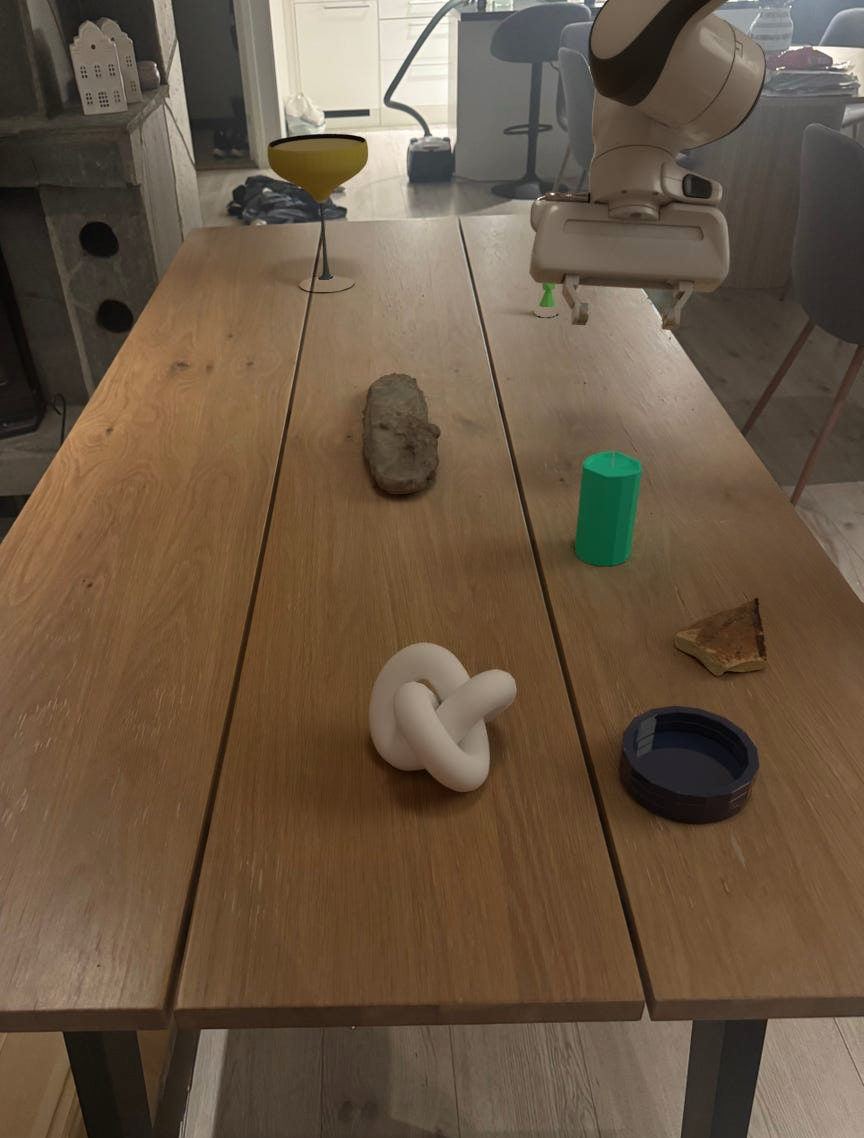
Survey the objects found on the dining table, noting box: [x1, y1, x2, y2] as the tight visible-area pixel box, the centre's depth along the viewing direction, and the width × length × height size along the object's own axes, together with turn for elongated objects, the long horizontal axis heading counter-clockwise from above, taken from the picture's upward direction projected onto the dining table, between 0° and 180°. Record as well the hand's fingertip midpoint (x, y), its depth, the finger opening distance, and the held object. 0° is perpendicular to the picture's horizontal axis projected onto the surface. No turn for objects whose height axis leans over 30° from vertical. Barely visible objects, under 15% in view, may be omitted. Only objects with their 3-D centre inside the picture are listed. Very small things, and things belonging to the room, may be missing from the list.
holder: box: [618, 705, 760, 825], centre depth 76 cm, size 10×10×3 cm
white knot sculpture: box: [368, 642, 518, 793], centre depth 77 cm, size 11×12×9 cm
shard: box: [674, 597, 769, 676], centre depth 89 cm, size 11×8×2 cm
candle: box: [574, 449, 643, 567], centre depth 101 cm, size 6×6×12 cm
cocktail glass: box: [267, 133, 369, 280], centre depth 179 cm, size 18×18×25 cm
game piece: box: [538, 283, 556, 307], centre depth 166 cm, size 4×4×6 cm
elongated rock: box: [361, 372, 442, 495], centre depth 127 cm, size 35×5×10 cm
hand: (624, 325), depth 99 cm, fingers open, 8 cm apart
